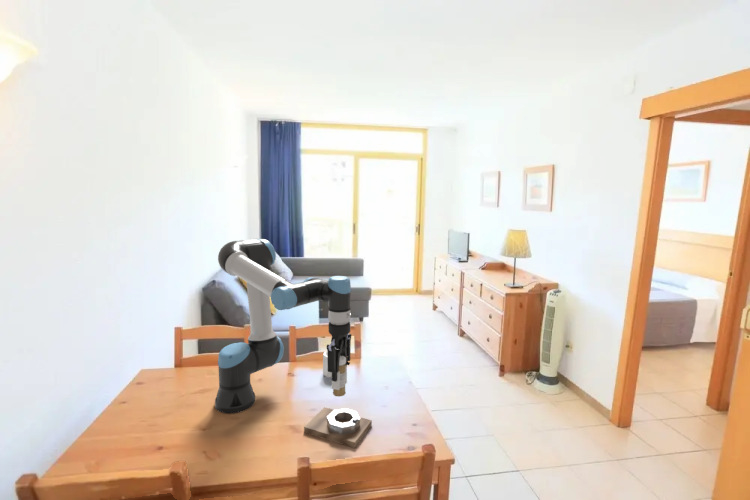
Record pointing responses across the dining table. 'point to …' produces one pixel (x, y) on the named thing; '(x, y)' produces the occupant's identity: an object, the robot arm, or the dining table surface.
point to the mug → (326, 365)
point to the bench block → (321, 430)
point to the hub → (343, 427)
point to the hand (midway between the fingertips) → (339, 385)
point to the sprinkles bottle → (341, 378)
